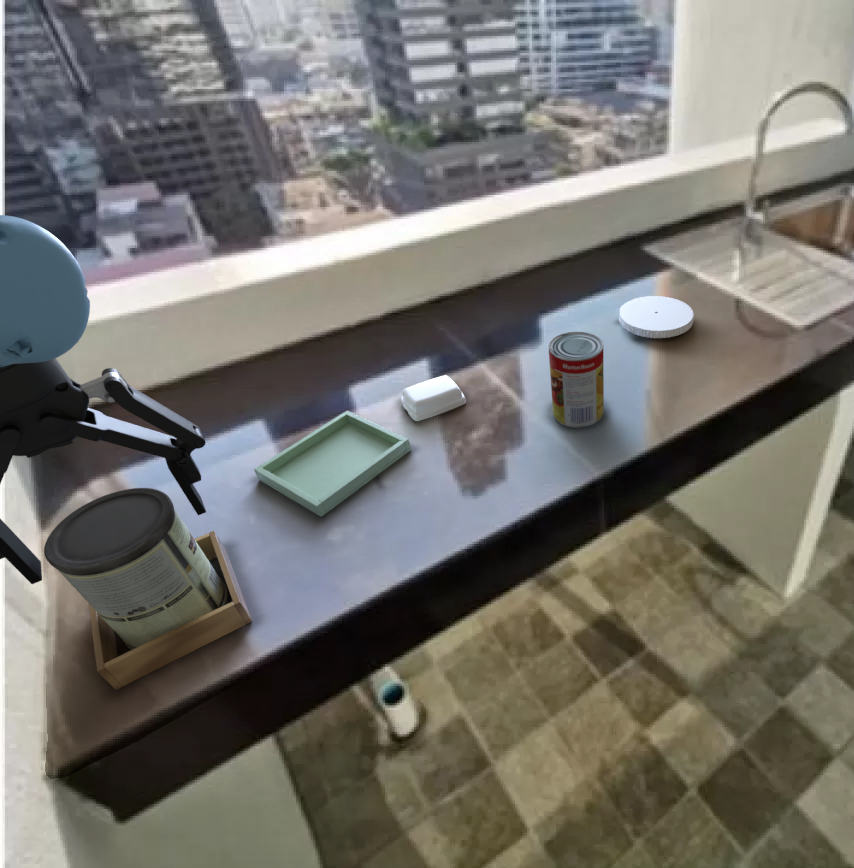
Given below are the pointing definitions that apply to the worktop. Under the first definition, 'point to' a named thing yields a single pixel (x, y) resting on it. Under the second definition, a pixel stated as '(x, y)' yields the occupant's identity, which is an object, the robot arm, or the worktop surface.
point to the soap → (432, 398)
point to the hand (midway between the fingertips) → (122, 538)
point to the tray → (333, 462)
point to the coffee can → (136, 564)
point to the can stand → (177, 640)
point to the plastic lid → (656, 317)
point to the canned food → (577, 378)
